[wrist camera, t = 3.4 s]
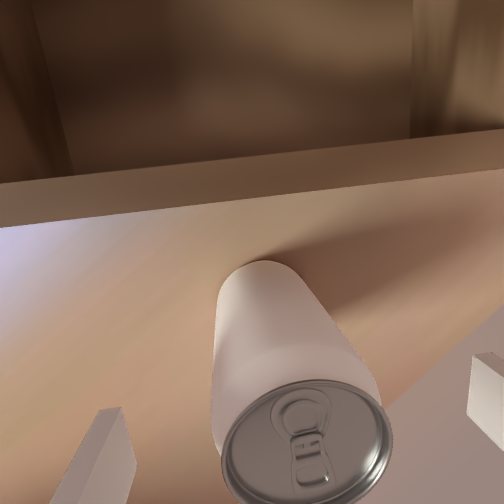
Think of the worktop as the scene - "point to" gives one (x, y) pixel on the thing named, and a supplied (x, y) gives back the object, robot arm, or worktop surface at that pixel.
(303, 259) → the worktop surface
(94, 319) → the worktop surface
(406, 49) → the narrow open box
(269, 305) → the can
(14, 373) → the worktop surface
